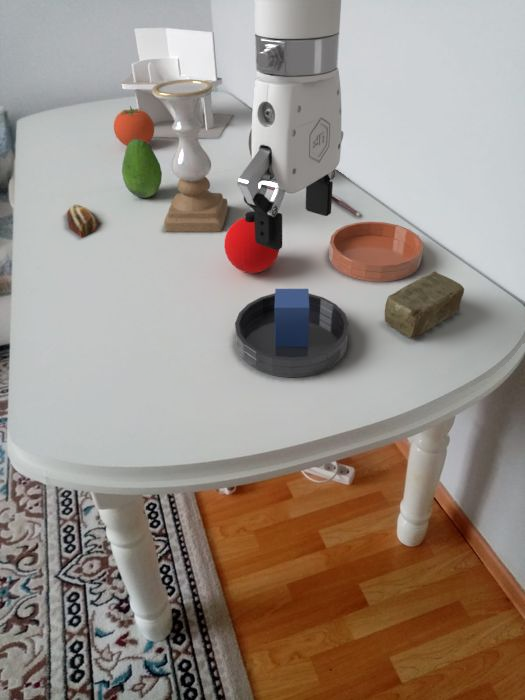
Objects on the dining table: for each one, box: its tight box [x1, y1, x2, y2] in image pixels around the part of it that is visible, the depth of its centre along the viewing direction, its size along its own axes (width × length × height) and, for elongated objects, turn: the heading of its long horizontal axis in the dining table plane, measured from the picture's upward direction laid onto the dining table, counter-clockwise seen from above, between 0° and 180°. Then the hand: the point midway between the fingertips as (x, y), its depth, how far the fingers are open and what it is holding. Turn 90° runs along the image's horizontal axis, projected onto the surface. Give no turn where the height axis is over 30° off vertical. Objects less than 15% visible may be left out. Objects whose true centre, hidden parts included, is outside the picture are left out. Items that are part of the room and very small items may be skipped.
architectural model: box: [121, 27, 233, 139], centre depth 142 cm, size 28×21×23 cm
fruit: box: [121, 139, 163, 199], centre depth 108 cm, size 8×8×12 cm
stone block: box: [384, 271, 465, 340], centre depth 73 cm, size 6×12×5 cm, turn 130°
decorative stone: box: [66, 203, 99, 238], centre depth 102 cm, size 14×6×2 cm, turn 32°
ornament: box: [224, 211, 280, 274], centre depth 84 cm, size 9×9×10 cm
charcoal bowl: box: [234, 292, 350, 378], centre depth 71 cm, size 15×15×3 cm
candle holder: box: [152, 80, 229, 233], centre depth 94 cm, size 11×11×24 cm
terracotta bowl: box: [328, 221, 424, 283], centre depth 88 cm, size 15×15×3 cm
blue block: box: [274, 288, 310, 347], centre depth 69 cm, size 4×4×6 cm
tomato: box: [113, 105, 154, 147], centre depth 133 cm, size 10×10×10 cm
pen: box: [332, 193, 361, 217], centre depth 104 cm, size 11×1×1 cm, turn 27°
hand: (294, 228), depth 58 cm, fingers open, 9 cm apart
